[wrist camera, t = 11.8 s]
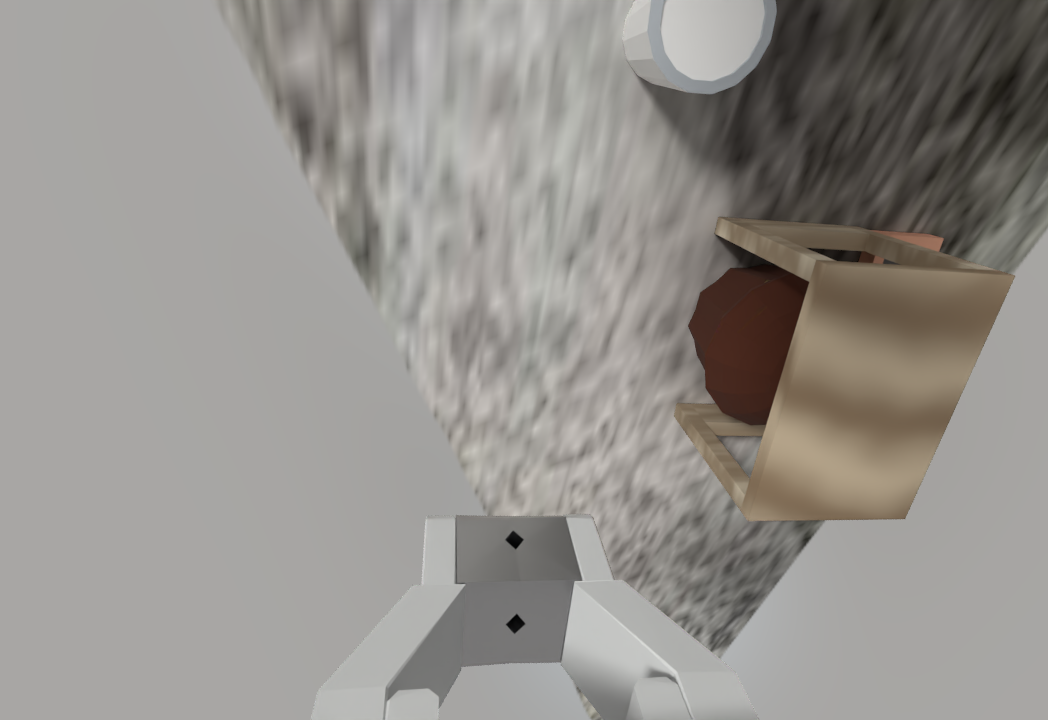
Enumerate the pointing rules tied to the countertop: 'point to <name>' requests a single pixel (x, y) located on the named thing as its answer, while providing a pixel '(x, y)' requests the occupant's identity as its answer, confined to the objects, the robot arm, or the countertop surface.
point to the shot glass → (697, 41)
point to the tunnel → (854, 374)
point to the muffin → (747, 337)
